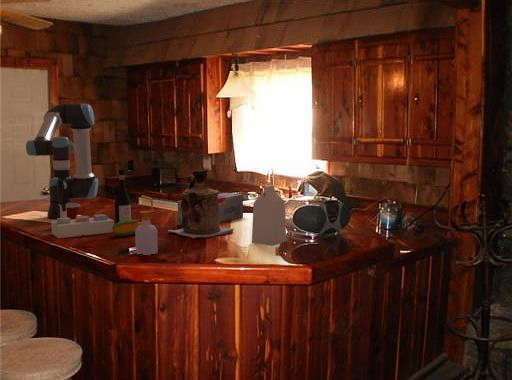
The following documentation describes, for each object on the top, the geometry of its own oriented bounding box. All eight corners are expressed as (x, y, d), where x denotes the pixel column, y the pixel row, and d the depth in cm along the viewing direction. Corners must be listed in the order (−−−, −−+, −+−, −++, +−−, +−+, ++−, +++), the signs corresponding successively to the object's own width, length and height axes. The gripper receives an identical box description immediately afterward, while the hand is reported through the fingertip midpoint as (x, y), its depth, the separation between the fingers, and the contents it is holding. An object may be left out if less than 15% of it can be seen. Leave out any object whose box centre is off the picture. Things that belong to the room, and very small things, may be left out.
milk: (273, 245, 253) (273, 188, 249) (251, 242, 259) (251, 186, 255) (286, 241, 263) (286, 185, 259) (265, 238, 269) (265, 183, 265)
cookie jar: (204, 226, 298) (203, 165, 294) (236, 233, 281) (235, 168, 277) (165, 233, 281) (164, 168, 277) (197, 240, 264) (196, 172, 260)
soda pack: (227, 215, 333) (227, 191, 331) (244, 217, 325) (244, 193, 323) (176, 225, 302) (176, 199, 300) (193, 228, 294) (193, 201, 292)
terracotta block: (76, 226, 281) (75, 216, 280) (86, 225, 284) (86, 215, 283) (78, 228, 277) (78, 218, 276) (89, 227, 279) (89, 217, 279)
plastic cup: (74, 228, 290) (73, 205, 289) (55, 228, 293) (54, 205, 291) (85, 225, 301) (84, 202, 299) (66, 224, 303) (65, 202, 302)
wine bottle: (134, 225, 299) (132, 169, 295) (121, 228, 293) (119, 170, 289) (125, 223, 304) (123, 168, 300) (112, 226, 298) (110, 169, 295)
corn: (108, 220, 272) (144, 215, 286) (108, 235, 273) (144, 230, 287) (116, 223, 267) (152, 218, 280) (116, 239, 268) (152, 233, 282)
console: (51, 233, 279) (51, 220, 278) (105, 227, 293) (105, 215, 292) (58, 238, 268) (57, 225, 267) (113, 232, 282) (113, 219, 281)
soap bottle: (137, 251, 243) (135, 194, 239) (158, 250, 243) (157, 194, 240) (134, 256, 234) (132, 197, 231) (156, 255, 234) (155, 196, 231)
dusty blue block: (94, 224, 286) (93, 215, 285) (104, 223, 288) (103, 214, 288) (97, 226, 281) (96, 216, 281) (107, 225, 284) (107, 215, 283)
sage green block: (57, 228, 276) (56, 218, 276) (68, 227, 279) (67, 217, 278) (59, 230, 272) (59, 220, 271) (70, 229, 275) (70, 218, 274)
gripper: (50, 168, 275) (52, 216, 278) (56, 170, 264) (58, 220, 267) (66, 167, 279) (68, 215, 282) (73, 169, 268) (75, 218, 271)
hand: (63, 217), depth 275 cm, fingers closed
